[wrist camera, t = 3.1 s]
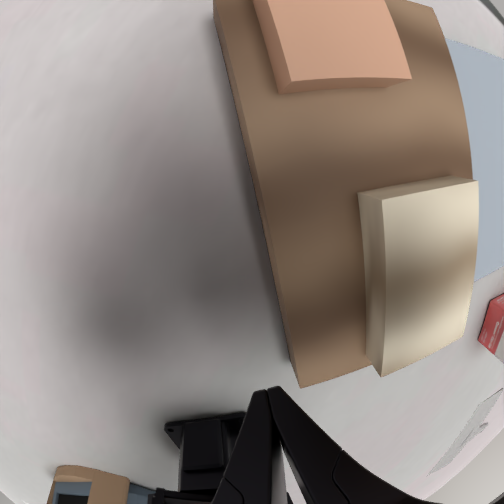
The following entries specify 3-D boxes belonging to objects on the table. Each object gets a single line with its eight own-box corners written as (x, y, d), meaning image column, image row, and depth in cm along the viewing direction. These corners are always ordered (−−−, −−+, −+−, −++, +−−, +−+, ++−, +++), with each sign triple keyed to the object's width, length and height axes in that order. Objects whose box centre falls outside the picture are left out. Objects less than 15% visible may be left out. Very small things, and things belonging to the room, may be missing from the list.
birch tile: (444, 320, 14) (462, 336, 12) (365, 355, 14) (380, 377, 12) (451, 175, 11) (478, 180, 9) (357, 192, 11) (381, 200, 9)
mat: (529, 247, 17) (531, 248, 17) (447, 292, 17) (450, 293, 16) (515, 66, 11) (517, 65, 11) (420, 34, 11) (422, 32, 10)
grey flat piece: (460, 454, 35) (462, 457, 34) (370, 497, 34) (372, 501, 32) (514, 376, 27) (517, 380, 26) (415, 433, 25) (419, 439, 24)
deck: (441, 305, 17) (461, 321, 15) (290, 361, 17) (300, 388, 14) (409, 20, 10) (432, 7, 8) (213, 17, 10) (213, -7, 8)
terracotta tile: (385, 87, 10) (412, 79, 8) (278, 94, 10) (291, 81, 8) (355, -3, 8) (374, -21, 6) (250, -4, 8) (256, -29, 6)
